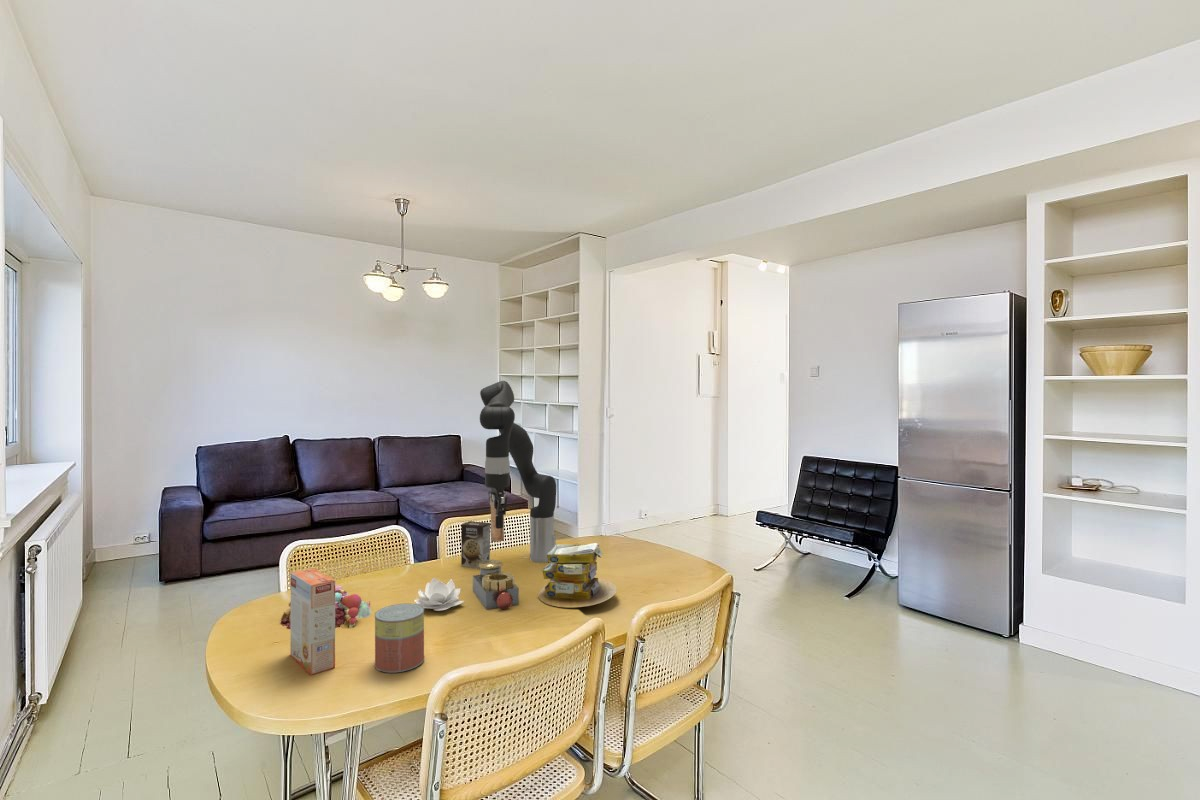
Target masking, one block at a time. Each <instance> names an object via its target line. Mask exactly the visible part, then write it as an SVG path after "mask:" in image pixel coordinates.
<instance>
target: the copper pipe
mask: <svg viewBox="0 0 1200 800" xmlns="http://www.w3.org/2000/svg"><path fill="white" fill-rule="evenodd" d="M496 506H498V505H497V504H496ZM500 511H501V509H500ZM504 540H505V515H504V516H503V528H499V529H497V528H496V515H495V509H494V508H493V501H491V510H490V542H494V543H500V542H503V541H504Z"/></svg>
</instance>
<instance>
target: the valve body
mask: <svg viewBox="0 0 1200 800" xmlns="http://www.w3.org/2000/svg"><path fill="white" fill-rule="evenodd" d="M479 567H480V570H479V571H480V574H476V575H472V592H473V594H474V595H475V596H476V597H477V599H478V601H479V602H480V603H481V604H482V605H483V607H484V608H485V610H489V609H496V608H499V609H500V610H501V609H502V610H507V609H509V608H510V607H511V606H514V605H515V606H517V605H519V602H520V601H519V598H520V597H519V596H520V595H519V593H520V592H519V587H518V585H516V583H515V575H514V574H512V573H509V572H504V571H502V567H503V562H502V561H501V560H496V559H490V560H488V561H483V562H480V563H479Z"/></svg>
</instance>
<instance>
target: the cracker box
mask: <svg viewBox="0 0 1200 800" xmlns="http://www.w3.org/2000/svg"><path fill="white" fill-rule="evenodd" d="M335 584H336V579H334V578H332V577H330V576H328V575H327V574H325V573H323V572H321V571H319V570H317V569H316V568H308V569H303V570H298V571H293V572H290V602H291V629H290V656H291V658H293V659H294V660H295V662H296V663H298V665H300V667H301V668H302V669H303V670H305V672H306V673H307V674H308V675H310V676H312V675H316V674H319V673H322V672H326V671H329V670H332V669H335V668H336V667H335V666H336V627H335Z"/></svg>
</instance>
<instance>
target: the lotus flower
mask: <svg viewBox="0 0 1200 800" xmlns="http://www.w3.org/2000/svg"><path fill="white" fill-rule="evenodd" d="M424 587H425V588H424V591H423V590H421V588H418V591H417V594H418V596H419V597H417V596H415V598H416V599H413V602H415V603H414V604H418V605H421V606H422V607H423V608H424V609H433V611H434V612H435V611H437V612H438V611H439V612H440V611H445V610H448V609H450V608H451V607H455V606H458V605H461V604H463V603H465V601H464V600H459V599H460V598H459V595H460V594H461V591H462V590H461V589H462V588H461V587H460V588H456V584H455V583H454V581H453V578H452V579H451V578H450V580H449V581H448V582H446V583H444V582H442V581H441V580H439V579H437V578H435V577H432V579H431V581H430V582H429V581H428V582H427V583H426V585H425V586H424Z"/></svg>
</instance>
